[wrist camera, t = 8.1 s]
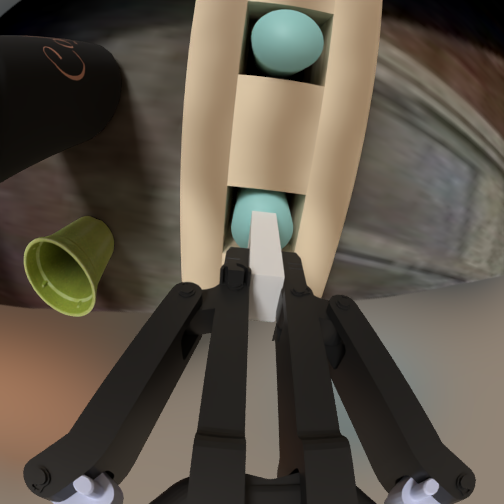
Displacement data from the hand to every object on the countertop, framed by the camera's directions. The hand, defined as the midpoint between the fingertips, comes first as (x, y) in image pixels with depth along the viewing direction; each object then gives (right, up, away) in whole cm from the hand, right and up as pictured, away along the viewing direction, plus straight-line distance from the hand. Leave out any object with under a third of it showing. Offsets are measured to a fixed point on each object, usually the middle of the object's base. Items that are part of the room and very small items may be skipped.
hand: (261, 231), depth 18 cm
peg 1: (+2, +15, +2) cm, 15 cm away
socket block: (+1, +10, +5) cm, 12 cm away
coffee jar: (-18, +15, +3) cm, 23 cm away
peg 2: (0, +4, +7) cm, 8 cm away
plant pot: (-19, +1, +12) cm, 23 cm away
